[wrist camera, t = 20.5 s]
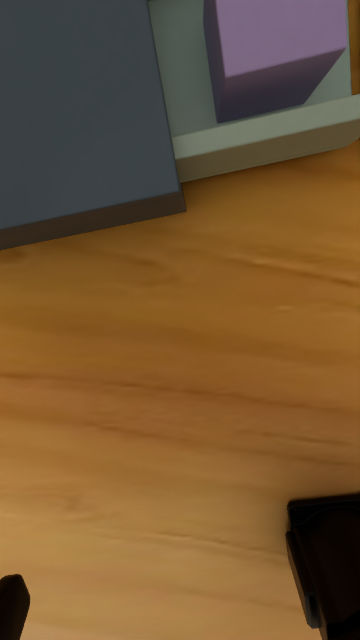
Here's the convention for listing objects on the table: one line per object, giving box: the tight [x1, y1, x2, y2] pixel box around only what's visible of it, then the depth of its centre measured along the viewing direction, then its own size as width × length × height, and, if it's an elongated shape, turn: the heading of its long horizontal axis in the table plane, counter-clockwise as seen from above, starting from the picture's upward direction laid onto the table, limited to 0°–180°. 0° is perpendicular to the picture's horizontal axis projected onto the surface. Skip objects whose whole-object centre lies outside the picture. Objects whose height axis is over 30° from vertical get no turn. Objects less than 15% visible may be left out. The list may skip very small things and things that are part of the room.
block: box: [203, 0, 348, 123], centre depth 11 cm, size 4×4×4 cm
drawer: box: [147, 0, 360, 183], centre depth 12 cm, size 18×9×5 cm, turn 101°
